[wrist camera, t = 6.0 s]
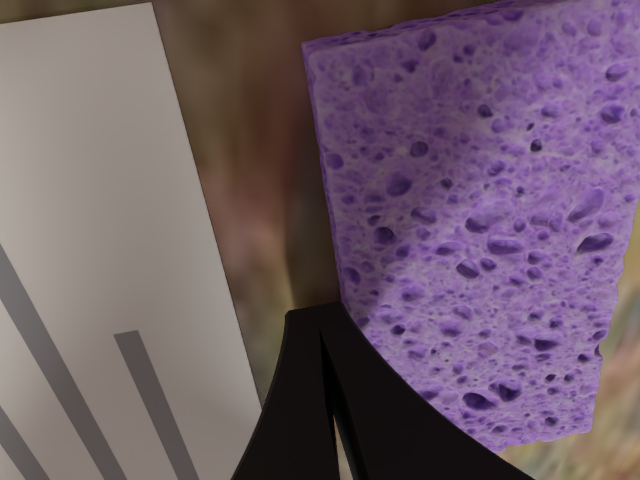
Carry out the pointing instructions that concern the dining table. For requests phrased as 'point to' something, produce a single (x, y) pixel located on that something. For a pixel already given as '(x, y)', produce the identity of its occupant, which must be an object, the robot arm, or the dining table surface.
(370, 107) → the sponges
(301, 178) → the dining table surface
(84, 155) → the letter
